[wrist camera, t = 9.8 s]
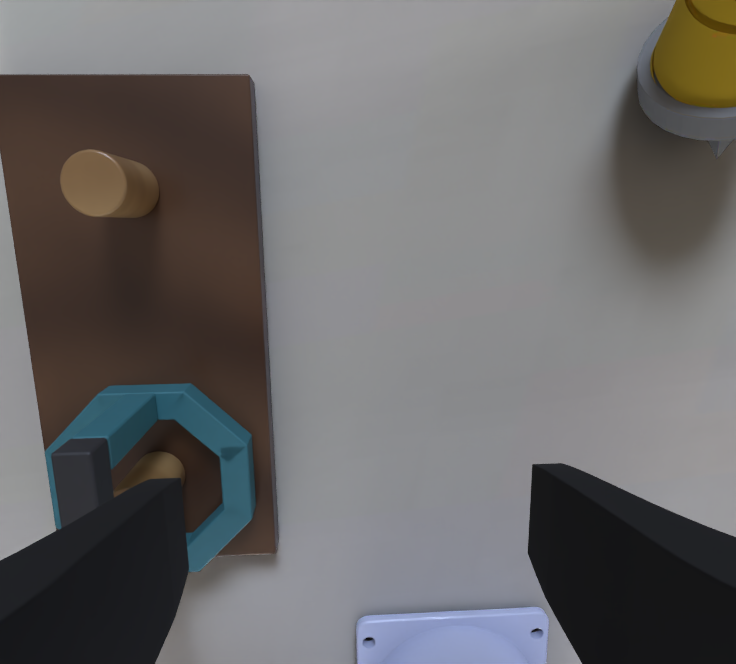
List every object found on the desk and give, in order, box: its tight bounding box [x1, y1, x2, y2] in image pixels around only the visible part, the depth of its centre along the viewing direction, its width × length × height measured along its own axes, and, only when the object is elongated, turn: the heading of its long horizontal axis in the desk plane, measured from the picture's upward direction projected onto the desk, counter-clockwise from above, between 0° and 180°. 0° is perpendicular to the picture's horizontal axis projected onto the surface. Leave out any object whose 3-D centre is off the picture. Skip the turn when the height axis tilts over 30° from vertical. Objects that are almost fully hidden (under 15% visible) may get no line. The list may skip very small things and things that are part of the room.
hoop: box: [45, 383, 256, 572], centre depth 16 cm, size 7×7×6 cm
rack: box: [0, 74, 279, 557], centre depth 17 cm, size 17×8×4 cm, turn 1°
